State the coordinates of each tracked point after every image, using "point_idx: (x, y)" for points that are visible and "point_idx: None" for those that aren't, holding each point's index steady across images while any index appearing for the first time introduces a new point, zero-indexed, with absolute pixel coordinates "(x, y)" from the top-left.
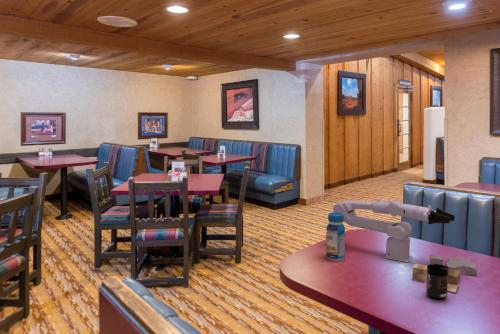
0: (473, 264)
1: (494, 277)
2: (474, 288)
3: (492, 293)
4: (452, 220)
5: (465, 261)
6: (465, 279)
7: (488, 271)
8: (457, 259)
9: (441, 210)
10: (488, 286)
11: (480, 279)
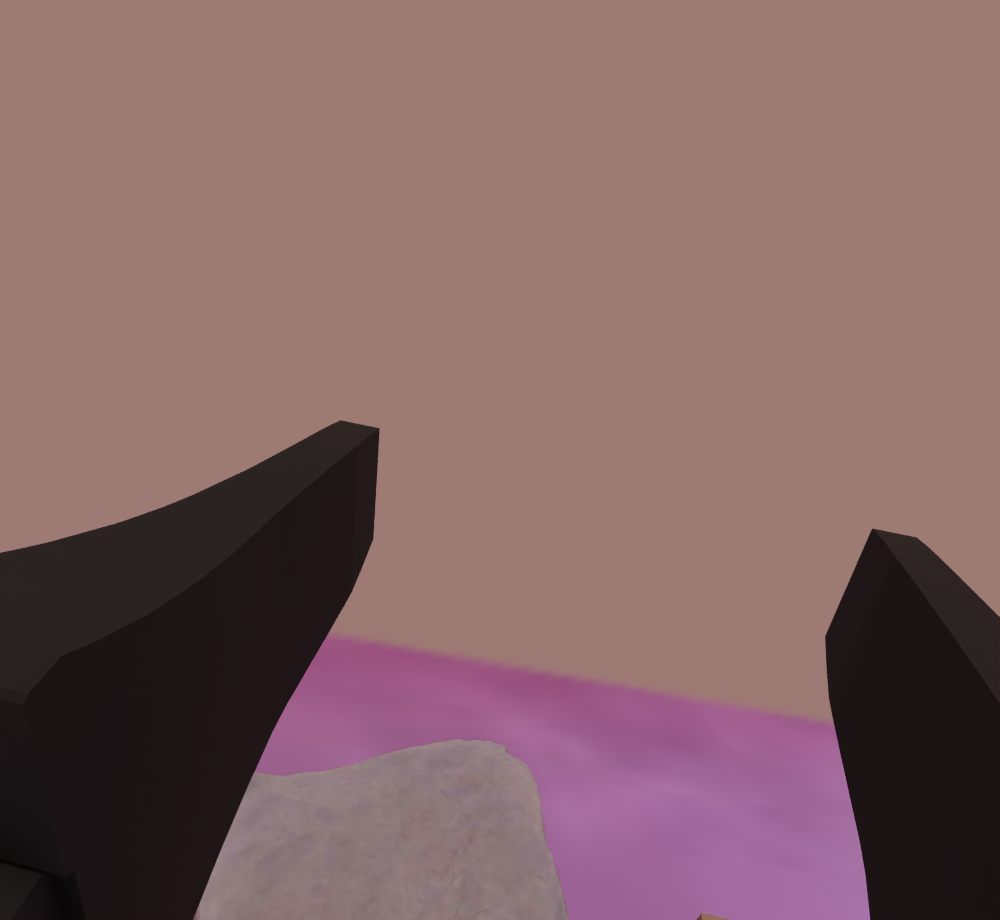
0: (472, 753)
1: (468, 664)
2: (822, 849)
3: (819, 736)
4: (363, 558)
5: (347, 824)
6: (655, 905)
7: (333, 679)
8: (292, 915)
9: (121, 580)
10: (699, 738)
11: (575, 772)
